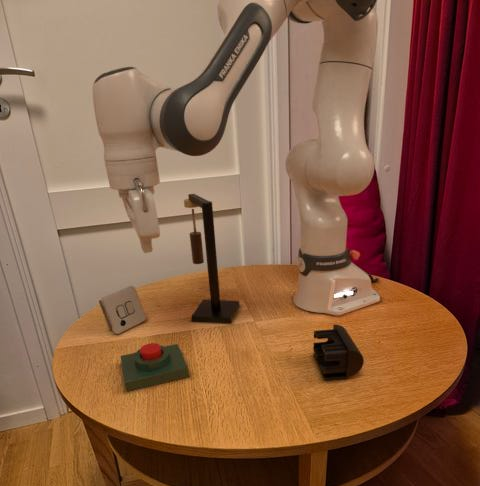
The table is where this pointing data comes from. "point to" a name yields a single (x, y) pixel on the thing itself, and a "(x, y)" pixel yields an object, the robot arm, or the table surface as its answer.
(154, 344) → the button
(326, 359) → the end cap
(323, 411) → the table surface
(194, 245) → the pull handle
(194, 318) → the hanging handle stand
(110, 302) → the electrical switch
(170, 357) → the button box
